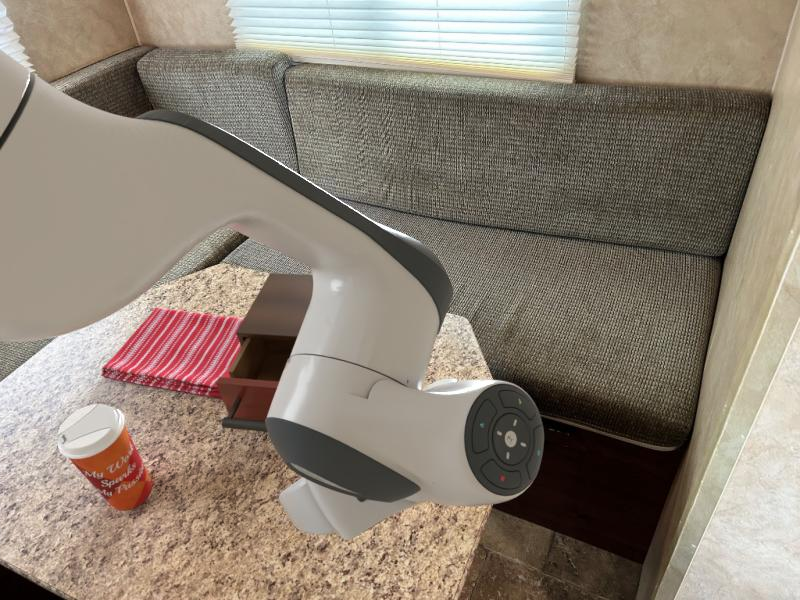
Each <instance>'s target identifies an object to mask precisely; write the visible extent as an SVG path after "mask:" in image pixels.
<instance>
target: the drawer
mask: <svg viewBox="0 0 800 600" xmlns="http://www.w3.org/2000/svg"><path fill="white" fill-rule="evenodd" d="M295 342H296V340H286V339H270V338H254V337H247V338H246V340H245V342H244V343H243V345H242V347H241V349H240V351H239V352H238V354H237V356H236V358H235V360H234V361H233V363H232V365H231V367H230V369H229V371H228V372H229V375H230V377H231V378H226V377H219V378H218V380H217V382H216V385H217V387H218V390H219V392H220V394H221V397H222V399H221V400H222V401H223V404H224V406H225V408H226V411H227V413H228V414H227V416H224V417H223V418H222V420H221V427H222V428H223V429H232V430H241V431H252V432H253V431H254V432H263V433H268V431H267V428H266V423H265V419H266V418H267V415H268V412H269V409H270V406H271V403H272V400H273V398H274V395H275V392H276V390H277V387H278V384H279V382H280V379H281V376H282V373H283V371H284V368H285V365H286V363H287V360H288V359H289V358H290V355H291V353H292V350H293V347H294V345H295Z"/></svg>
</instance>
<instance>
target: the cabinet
mask: <svg viewBox="0 0 800 600" xmlns="http://www.w3.org/2000/svg"><path fill="white" fill-rule="evenodd" d="M312 294H313V276H312V274H303V273H301V274H300V273H276V272H275V273H273V272H270V273H269V275H268V276H267V278H266V280H265V281H264V283H263V285H262V287H261V288H260V290H259V291H258V294H257V296H256V297H255V299H254V300H253V302H252V304H251V306H250V307H249V309H248V311H247V313H246V314H245V315H244V317H243V318H244V320H243V321H242V323H241V325H240V327H239V328H238V330H237V332H236V334H237V336H238V339H239V342H240V345H241V347H242V345H243V343H244V342H245V340H246V338H247V337H254V338H270V339H286V340H296V339H297V337H298V334H299V331H300V329H301V326H302V323H303V321H304V318H305V315H306V313H307V310H308V308H309V305H310V302H311V299H312Z"/></svg>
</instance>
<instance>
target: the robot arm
mask: <svg viewBox="0 0 800 600" xmlns="http://www.w3.org/2000/svg"><path fill="white" fill-rule="evenodd" d="M223 228H226V229H231V230H234V231H235V232H238V233H239V234H241V235H243V236H246V237H247V238H249V239H252V240H253V241H256V242H258V243H260V244H262V245H264V246H267V247H269V248H271V249H272V250H274V251H277V252H278V253H281V254H282V255H284V256H287V257H289V258H291V259H292V260H295V261H297V262H299V263H301V264H303V265H305V266H307V267H308V268H309V269H310V271H311V275H312V276H313V294H312V299H311V302H310V305H309V308H308V310H307V313H306V315H305V318H304V321H303V323H302V326H301V329H300V331H299V334H298V337H297V339H296V342H295V345H294V347H293V350H292V353H291V355H290V358H289V359H288V360H287V363H286V365H285V368H284V371H283V373H282V376H281V379H280V382H279V384H278V387H277V390H276V392H275V395H274V398H273V400H272V403H271V406H270V409H269V412H268V415H267V418H266V419H265V423H266V428H267V431H268V432H267V434H268V436H269V440H270V441H271V443H272V445H273V447H274V449H275V450H276V452H277V453H278V456H279V457H280V458H281V460H282V461H283V463H284V464H285V465H286V467H287V468H288V469H289V470H291V471H292V472H294V473H295V474H297V475H298V476H300V478H299V479H297V480H296V481H295V482H294V483H292V484H291V485H289V486H288V487H286V488H285V489H283V491H281V493H280V494H279V495H278V501H279V503H280V505H281V507H282V509H283V510H284V512H285V514H286V516H287V517H288V518H289V520H290V521H291V523H292V524H293V526H294V527H295V528H296V529H297V530H299V531H300V532H303V533H306V534H310V535H316V536H326V535H331V534H333V533H337V535H338V536H339V537H340V538H341V539H342V540H344V541H351V540H353V539H356V538H357V537H358V536H360V535H362V534H364V533H365V532H367V531H369V530H370V529H371V528H374V527H375V526H377V525H378V524H380V523H381V522H383V521H384V520H386V519H388V518H389V517H391V516H393V515H395V514H398V513H400V512H402V511H405V510H408V509H411V508H412V507H413V508H414V507H416V506H417V505H419V504H420V503H432V504H434V505H435V504H436V505H441V506H448V507H484V506H492V505H497V504H501V503H506V502H509V501H511V500H513V499H515V498H517V497H519V496H520V495H522V494H523V493H524V492H525V491H526V490H527V489H529V487H531V485H532V484H533V482H534V480H536V478H537V476H538V475H539V474H538V473H539V471H540V468H541V465H542V464H541V463H542V460H543V455H544V448H545V447H544V445H545V430H544V425H543V421H542V417H541V414H540V411H539V409H538V407H537V405H536V403H535V402H534V400H533V399H532V397H531V396H530V395H529V394H528V392H526V390H524V389H523V388H522V387H520V386H519V385H518V384H515V383H512V382H509V381H506V380H500V379H487V378H486V379H485V378H484V379H481V378H480V379H465V380H460V379H458V378H455V377H454V378H453V377H452V378H450V377H449V378H444V379H438V380H436V381H434V382H431V383H430V384H428V385H427V386H425V387H424V388H423V384H424V382H425V378H426V374H427V372H428V367H429V364H430V360H431V356H432V354H433V351H434V346H435V343H436V340H437V337H438V335H439V334H440V332H441V330H442V327H443V324H444V321H445V319H446V316H447V313H448V311H449V308H450V305H451V303H452V301H453V298H454V287H453V283H452V281H451V279H450V277H449V275H448V273H447V270H446V269H445V267H444V265H443V263H442V262H441V260H440V258H439V257H438V256H437V255H436V253H435V252H434V251H433V250H432V249H431V248H430V247H428V245H427V244H425V243H423V242H421V241H419V240H417V239H416V238H414V237H412V236H409V235H407V234H405V233H403V232H400V231H398V230H395V229H393V228H391V227H388V226H387V225H383V224H382V223H379V222H377V221H374V220H373V219H371V218H369V217H368V216H366V215H365V214H363V213H361V212H360V211H358V210H356V209H354V208H353V207H352V206H350V205H348V204H347V203H345V202H343V201H342V200H340V199H339V198H338V197H336V196H334V195H332V194H331V193H330V192H328V191H326V190H324V189H323V188H321V187H319V186H318V185H316V184H314V183H313V182H312V181H310V180H309V179H308V178H305V177H304V176H303V175H301V174H299V173H298V172H296V171H294V170H293V169H291V168H290V167H288V166H286V165H284V164H283V163H281V161H278V160H277V159H275V158H273V157H271V156H270V155H268V154H266V153H264V152H263V151H262V150H260V149H258V148H257V147H255V146H253V145H251V144H249V143H248V142H246V141H244V140H243V139H241V138H239V137H237V136H235V135H234V134H232V133H230V132H228V131H227V130H224V129H222V128H221V127H218V126H216V125H214V124H212V123H210V122H208V121H206V120H203V119H201V118H199V117H198V118H197V117H196V116H193V115H190V114H187V113H184V112H181V111H176V110H171V109H160V108H159V109H153V110H148V111H146V112H144V113H142V114H140V115H137V116H134V117H128V116H124V115H119V114H115V113H111V112H108V111H105V110H102V109H100V108H97V107H94V106H92V105H89V104H87V103H84V102H82V101H80V100H78V99H76V98H74V97H72V96H70V95H69V94H66V93H65V92H63V91H61V90H60V89H58V88H56V87H54V86H53V85H51V84H50V83H49V82H47V81H46V80H44V79H43V78H41V77H40V76H38V75H37V74H35V73H34V72H33V71H32V72H31V71H30V70H29V68H27V67H25V65H23V64H21V63H20V62H19V61H17V60H16V59H15V58H13V57H11V56H10V55H9V54H7V53H6V52H4V51H3V50H2V49H0V342H3V343H19V342H22V343H24V342H33V341H42V340H47V339H48V340H49V339H52V338H57V337H61V336H65V335H67V334H71V333H73V332H77V331H80V330H82V329H85V328H87V327H89V326H92V325H94V324H96V323H98V322H100V321H102V320H105V319H107V318H108V317H110V316H112V315H113V314H115V313H117V312H119V311H120V310H122V309H124V308H125V307H127V306H128V305H130V304H131V303H133V302H134V301H136V300H137V299H139V298H140V297H142V295H144V294H146V293H147V292H148V291H149V290H151V288H153V287H155V285H156V284H158V282H159V281H160V280H162V279H163V278H164V277H165V276H166V274H168V273H169V272H170V271H171V270H172V269H173V268H174V267H176V265H177V264H178V263H180V262H181V260H183V259H184V258H185V257H186V256H187V255H188V254H190V253H191V252H192V251H193V250H194V249H195V248H196V247H198V246H199V245H200V244H201V243H203V242H204V241H206V240H207V239H208V238H209V237H210V236H212V235H213V234H215V233H217V232H218V231H220V230H222V229H223Z"/></svg>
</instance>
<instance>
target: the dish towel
mask: <svg viewBox="0 0 800 600" xmlns="http://www.w3.org/2000/svg"><path fill="white" fill-rule="evenodd" d="M244 318H245V317H234V316H225V315H219V314H210V313H201V312H196V311H195V312H194V311H187V310H186V311H184V310H180V309H179V310H178V309H173V308H165V307H164V308H163V307H155V308H154V309H153V311H152V312H151V313H150V314H149V315H148V317H147V318H146V319H145V320H144V321H143V322H142V323H141V324H140V326H139V327H137V329H136V330H135V331H134V332H133V333H132V335H131V336H130V337H129V338H128V339H127V341H126V342H125V343H124V344H123V345H122V347H120V348H119V350H118V351H117V352H116V353H115V355H113V356H112V357H111V358H110V359H109V360H108V361H107V363H106V364H104V365H103V366H102V368H101V375H100V376H101V377H103V378H105V379H110V380H111V379H112V380H116V381H122V382H126V383H127V382H128V383H132V384H136V385H143V386H149V387H155V388H161V389H165V390H171V391H178V392H182V393H189V394H193V395H196V396H204V397H209V398H216V399H221V400H223V399H222V397H221V394H220V392H219V390H218V387H217V385H216V382H217V380H218V378H219V377H226V378H231V377H230V375H229V372H228V371H229V369H230V367H231V365H232V363H233V361H234V360H235V358H236V356H237V354H238V352H239V351H240V349H241V345H240V342H239V339H238V336H237V334H236V332H237V330H238V328H239V327H240V325H241V323H242V321H243V320H244Z"/></svg>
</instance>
